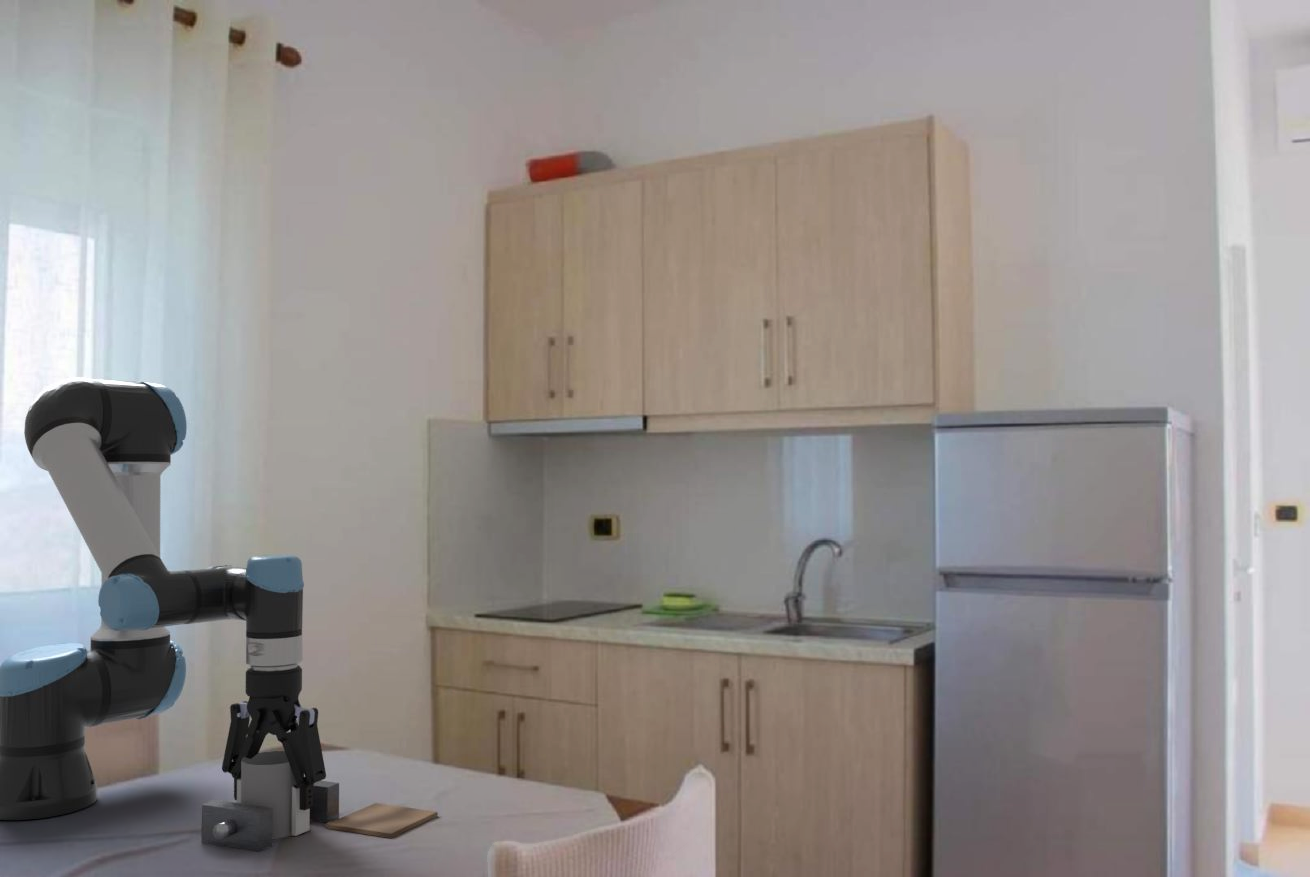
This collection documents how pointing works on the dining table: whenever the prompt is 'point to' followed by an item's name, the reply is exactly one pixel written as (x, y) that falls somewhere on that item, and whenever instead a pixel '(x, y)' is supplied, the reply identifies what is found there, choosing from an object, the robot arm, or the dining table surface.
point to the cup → (270, 788)
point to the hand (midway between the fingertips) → (272, 828)
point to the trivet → (382, 820)
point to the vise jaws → (259, 819)
